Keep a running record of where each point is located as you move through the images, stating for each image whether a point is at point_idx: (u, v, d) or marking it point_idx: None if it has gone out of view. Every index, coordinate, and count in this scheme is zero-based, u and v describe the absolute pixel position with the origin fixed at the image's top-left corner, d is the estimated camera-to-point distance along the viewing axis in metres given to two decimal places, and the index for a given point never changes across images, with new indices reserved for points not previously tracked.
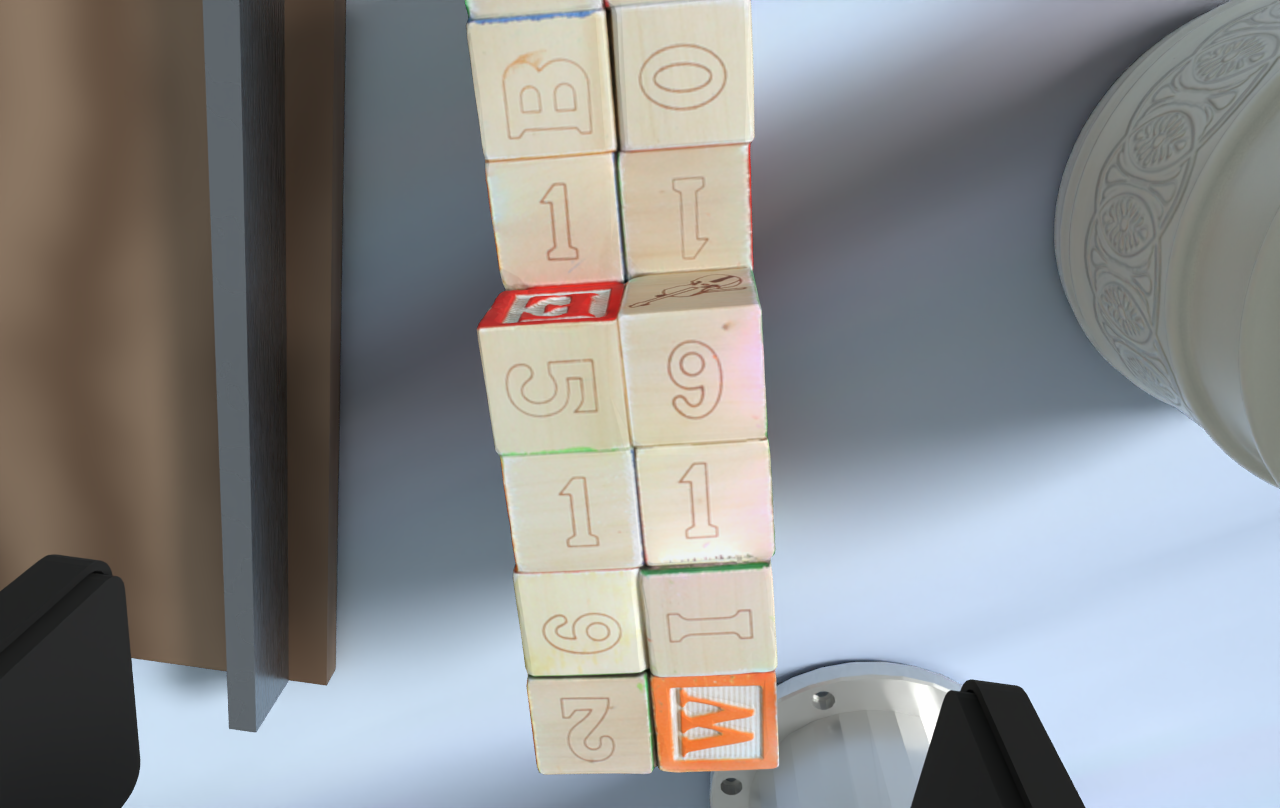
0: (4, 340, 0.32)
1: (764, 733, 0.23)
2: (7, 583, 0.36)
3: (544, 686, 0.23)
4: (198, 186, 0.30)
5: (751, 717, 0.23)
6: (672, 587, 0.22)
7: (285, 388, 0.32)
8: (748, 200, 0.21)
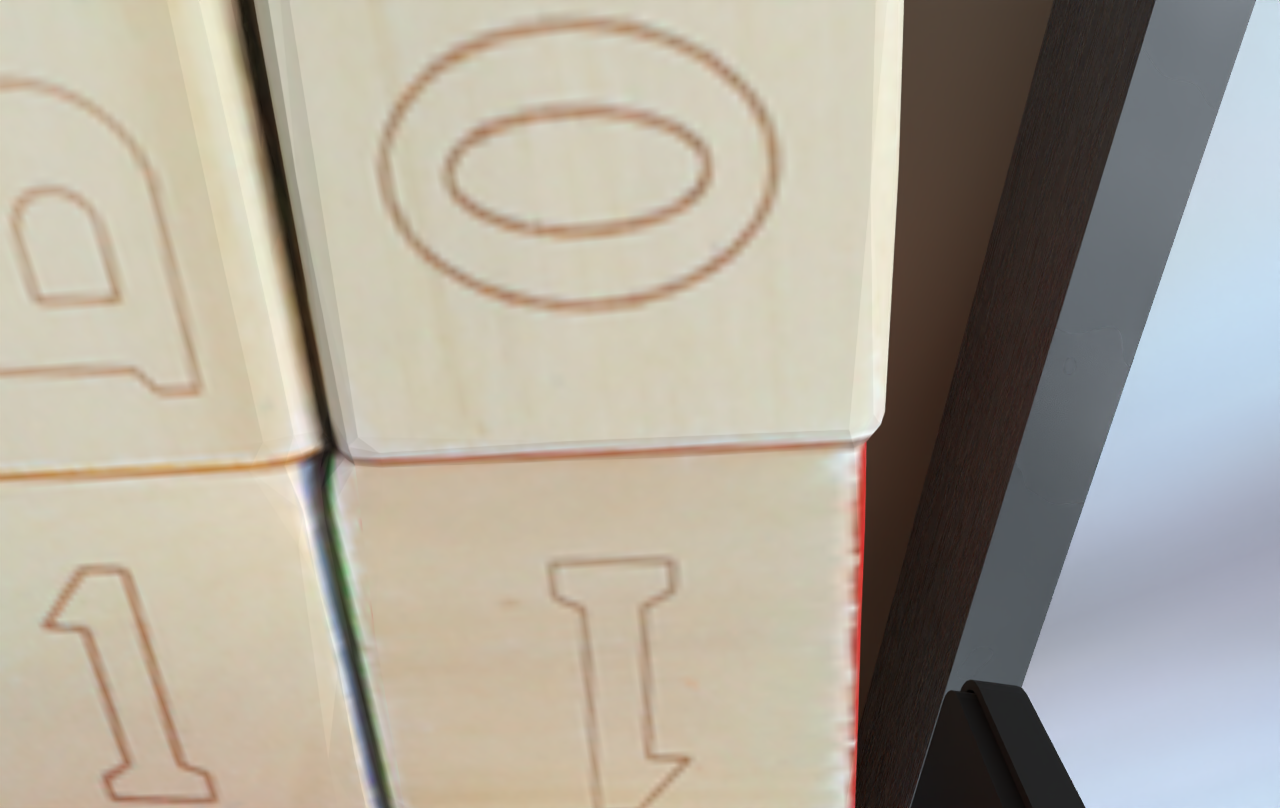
0: None
1: None
2: None
3: None
4: None
5: None
6: None
7: None
8: (848, 640, 0.05)
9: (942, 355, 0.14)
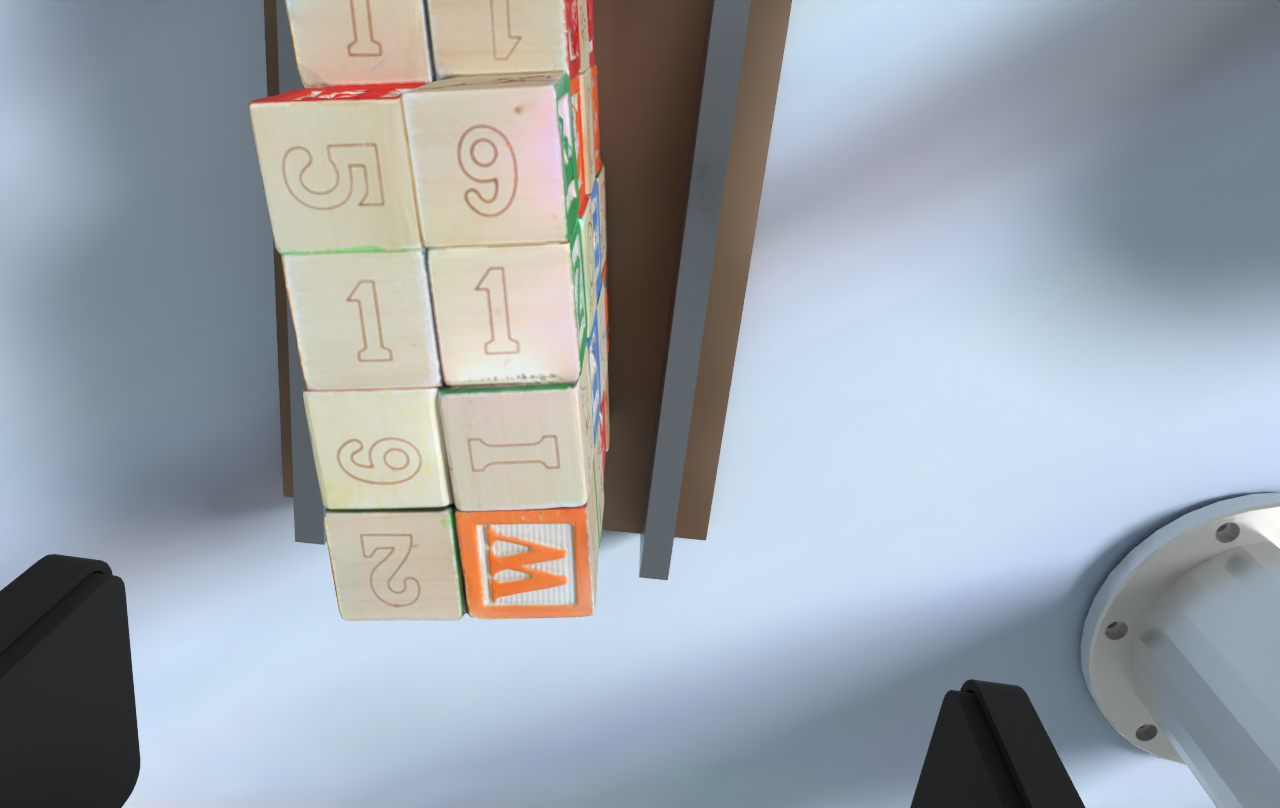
0: None
1: (577, 576, 0.22)
2: None
3: (342, 521, 0.22)
4: None
5: (563, 559, 0.22)
6: (472, 409, 0.20)
7: None
8: None
9: (695, 44, 0.29)
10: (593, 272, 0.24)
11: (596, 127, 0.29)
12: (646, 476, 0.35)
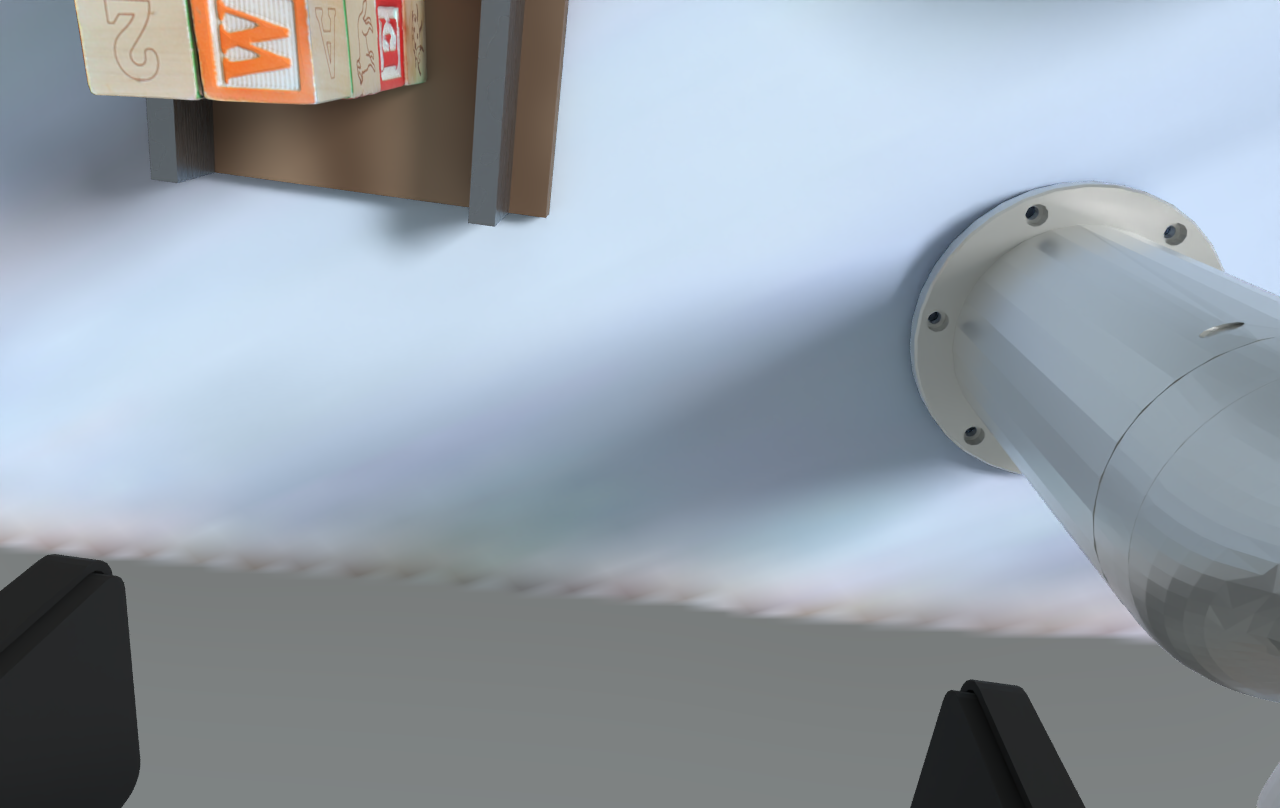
0: None
1: (299, 57, 0.25)
2: (240, 107, 0.37)
3: None
4: None
5: (286, 39, 0.24)
6: None
7: None
8: None
9: None
10: None
11: None
12: None
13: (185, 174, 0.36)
